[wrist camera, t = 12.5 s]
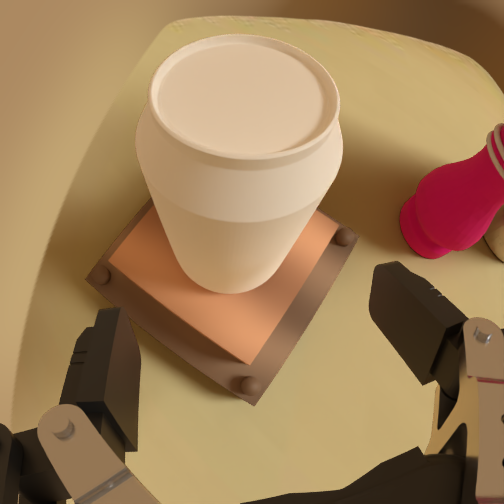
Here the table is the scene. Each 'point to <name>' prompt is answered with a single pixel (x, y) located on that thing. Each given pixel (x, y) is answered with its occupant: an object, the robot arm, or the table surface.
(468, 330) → the robot arm
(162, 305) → the brick plinth
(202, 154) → the beverage can
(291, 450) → the table surface
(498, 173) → the pepper mill
